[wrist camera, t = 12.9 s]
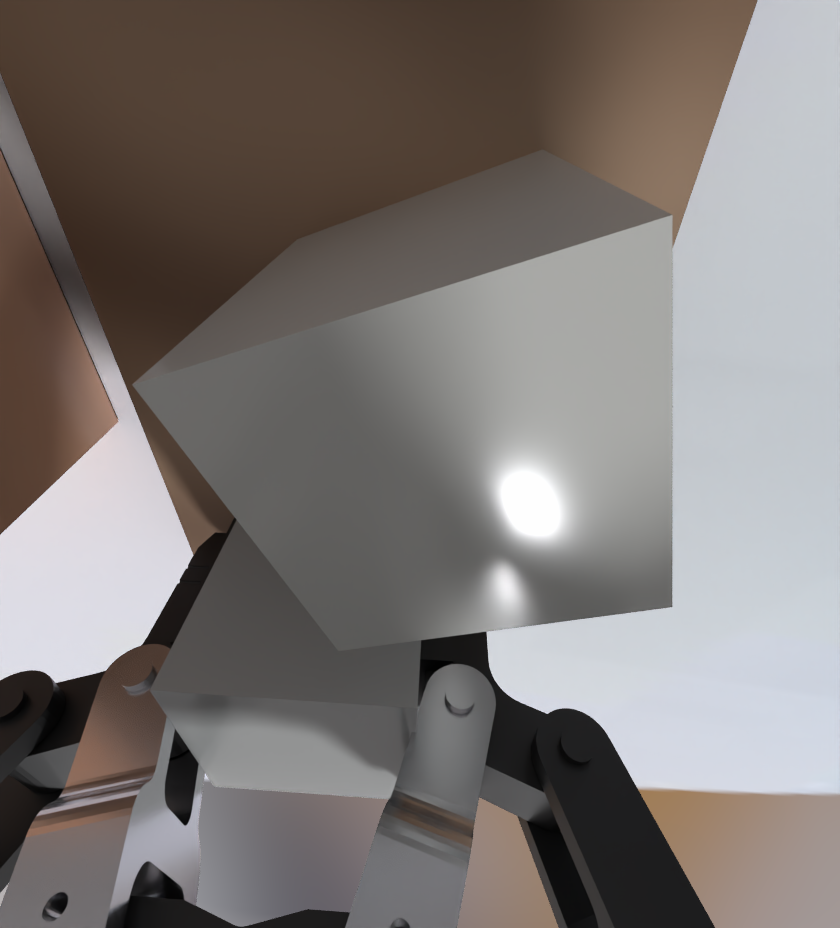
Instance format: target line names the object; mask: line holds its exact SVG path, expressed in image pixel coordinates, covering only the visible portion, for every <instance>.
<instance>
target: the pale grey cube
mask: <svg viewBox="0 0 840 928" xmlns="http://www.w3.org/2000/svg"><path fill="white" fill-rule="evenodd" d="M132 385H133V387H134V388H135V389H136V390H137V392H138V393H139V394H140V396H141V397H142V398H143V400H144V401H145V402H146V403H147V405H148V406H149V407H150V409H151V410H152V411H153V412H154V414H155V415H156V416H157V418H158V419H159V420H160V421H161V423H162V424H163V425H164V427H165V428H166V429H167V430H168V432H169V433H170V434H171V436H172V437H173V438H174V440H175V441H176V442H177V443H178V445H179V446H180V447H181V449H182V450H183V451H184V452H185V454H186V455H187V456H188V458H189V459H190V460H191V461H192V463H193V464H194V465H195V467H196V468H197V469H198V471H199V472H200V473H201V474H202V476H203V477H204V478H205V480H206V481H207V482H208V483H209V485H210V486H211V487H212V489H213V490H214V491H215V492H216V494H217V495H218V496H219V498H220V499H221V500H222V502H223V503H224V504H225V505H226V507H227V508H228V509H229V511H230V512H231V513H232V514H233V516H234V517H235V518H236V520H237V521H238V522H239V523H240V525H241V526H242V527H243V529H244V530H245V531H246V532H247V534H248V535H249V536H250V538H251V539H252V540H253V542H254V543H255V544H256V545H257V547H258V548H259V549H260V551H261V552H262V553H263V554H264V556H265V557H266V558H267V560H268V561H269V562H270V563H271V565H272V566H273V567H274V569H275V570H276V571H277V573H278V574H279V575H280V576H281V578H282V579H283V580H284V582H285V583H286V584H287V585H288V587H289V588H290V589H291V591H292V592H293V593H294V594H295V596H296V597H297V598H298V600H299V601H300V602H301V603H302V605H303V606H304V607H305V609H306V610H307V611H308V613H309V614H310V615H311V616H312V618H313V619H314V620H315V622H316V623H317V624H318V625H319V627H320V628H321V629H322V631H323V632H324V633H325V634H326V636H327V637H328V638H329V640H330V641H331V642H332V644H333V645H334V646H335V647H336V649H337V650H338V651H343V650H351V649H358V648H366V647H373V646H381V645H388V644H396V643H404V642H411V641H419V640H426V639H434V638H441V637H449V636H456V635H464V634H472V633H479V632H487V631H494V630H502V629H509V628H517V627H525V626H532V625H540V624H547V623H555V622H562V621H570V620H577V619H585V618H593V617H600V616H608V615H615V614H623V613H630V612H638V611H646V610H653V609H661V608H668V607H672V214H670V213H668V212H666V211H664V210H662V209H660V208H658V207H656V206H654V205H652V204H650V203H648V202H646V201H644V200H642V199H640V198H638V197H636V196H634V195H632V194H630V193H628V192H626V191H624V190H622V189H620V188H618V187H616V186H614V185H612V184H610V183H608V182H606V181H604V180H602V179H601V178H599V177H597V176H595V175H593V174H591V173H589V172H587V171H585V170H583V169H581V168H579V167H577V166H575V165H573V164H571V163H569V162H567V161H565V160H563V159H561V158H559V157H557V156H555V155H553V154H551V153H549V152H547V151H545V150H543V149H542V150H539V151H537V152H534V153H531V154H529V155H526V156H523V157H520V158H518V159H515V160H512V161H509V162H507V163H504V164H501V165H499V166H496V167H493V168H490V169H488V170H485V171H482V172H479V173H477V174H474V175H471V176H469V177H466V178H463V179H460V180H458V181H455V182H452V183H449V184H447V185H444V186H441V187H439V188H436V189H433V190H430V191H428V192H425V193H422V194H419V195H417V196H414V197H411V198H409V199H406V200H403V201H400V202H398V203H395V204H392V205H389V206H387V207H384V208H381V209H379V210H376V211H373V212H370V213H368V214H365V215H362V216H359V217H357V218H354V219H351V220H349V221H346V222H343V223H340V224H338V225H335V226H332V227H329V228H327V229H324V230H321V231H319V232H316V233H313V234H310V235H308V236H305V237H302V238H299V239H297V240H296V241H295V242H294V243H292V244H291V245H290V246H289V247H288V248H287V249H286V250H284V251H283V252H282V253H281V254H280V255H279V256H278V257H277V258H275V259H274V260H273V261H272V262H271V263H270V264H269V265H267V266H266V267H265V268H264V269H263V270H262V271H261V272H259V273H258V274H257V275H256V276H255V277H254V278H253V279H252V280H250V281H249V282H248V283H247V284H246V285H245V286H244V287H242V288H241V289H240V290H239V291H238V292H237V293H236V294H234V295H233V296H232V297H231V298H230V299H229V300H228V301H227V302H225V303H224V304H223V305H222V306H221V307H220V308H219V309H217V310H216V311H215V312H214V313H213V314H212V315H211V316H209V317H208V318H207V319H206V320H205V321H204V322H203V323H202V324H200V325H199V326H198V327H197V328H196V329H195V330H194V331H192V332H191V333H190V334H189V335H188V336H187V337H186V338H184V339H183V340H182V341H181V342H180V343H179V344H178V345H177V346H175V347H174V348H173V349H172V350H171V351H170V352H169V353H167V354H166V355H165V356H164V357H163V358H162V359H161V360H159V361H158V362H157V363H156V364H155V365H154V366H153V367H152V368H150V369H149V370H148V371H147V372H146V373H145V374H144V375H142V376H141V377H140V378H139V379H138V380H137V381H136V382H134V383H133V384H132Z"/></svg>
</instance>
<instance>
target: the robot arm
mask: <svg viewBox="0 0 840 928" xmlns="http://www.w3.org/2000/svg"><path fill="white" fill-rule="evenodd" d="M235 522H236V518H235V517H234V519H233V521H232V523H231V525H230V527H229V529H228V531H227V533H218V532H215V533H214V534H213V535H212V536H211V537H209V538H208V539H207V540H206V541H205V542H204V543H203V544H202V545H200V546H199V547H198V549H197V550H196V552H195V554H194V556H193V557H192V559H191V561H190V563H189V565H188V569H186V570H185V572H184V573H183V575H182V577H181V579H180V583H179V584H177V586H176V587H175V589H174V591H173V593H172V595H171V596H170V598H169V600H168V602H167V603H166V605H165V607H164V609H163V610H162V612H161V614H160V616H159V617H158V619H157V621H156V623H155V624H154V626H153V628H152V630H151V632H150V633H149V635H148V637H147V638H146V640H145V641H144V643H143V644H142V645H141V646H139V647H136V648H134V649H132V650H130V651H128V652H126V653H125V654H123V655H122V656H120V657H119V658H118V659H116V660H115V661H114V662H113V663H112V664H111V665H110V667H109V668H108V669H107V670H106V671H103V672H100V673H97V674H92V675H88V676H84V677H80V678H76V679H71V680H67V681H63V682H59V683H55V682H54V681H53V680H52V679H51V678H50V676H48V675H47V674H46V673H44V672H41V671H24V672H19V673H16V674H13V675H11V676H8V677H6V678H4V679H2V680H0V892H1V891H2V890H3V889H4V888H5V886H6V885H7V884H8V883H9V884H8V887H7V890H6V893H5V895H4V898H3V901H2V904H1V906H0V928H457V925H458V919H459V913H460V908H461V903H462V897H463V892H464V887H465V880H466V875H467V869H468V865H469V858H470V853H471V846H472V840H473V829H474V822H475V817H476V811H477V806H478V800H479V797H480V798H482V799H484V800H486V801H488V802H490V803H492V804H494V805H496V806H498V807H500V808H502V809H504V810H506V811H509V812H511V813H513V814H515V815H517V816H518V818H519V821H520V824H521V827H522V830H523V832H524V835H525V838H526V840H527V843H528V846H529V848H530V851H531V854H532V856H533V859H534V862H535V864H536V867H537V870H538V873H539V875H540V878H541V880H542V884H543V886H544V889H545V892H546V894H547V897H548V900H549V902H550V905H551V908H552V910H553V913H554V916H555V919H556V921H557V924H558V927H559V928H715V927H714V925H713V923H712V921H711V920H710V918H709V916H708V914H707V912H706V911H705V909H704V907H703V905H702V904H701V902H700V900H699V898H698V896H697V895H696V893H695V891H694V889H693V887H692V886H691V884H690V882H689V880H688V878H687V877H686V875H685V873H684V871H683V869H682V868H681V866H680V864H679V862H678V860H677V859H676V857H675V855H674V853H673V852H672V850H671V848H670V846H669V844H668V843H667V841H666V839H665V837H664V835H663V834H662V832H661V830H660V828H659V827H658V825H657V823H656V821H655V819H654V818H653V816H652V814H651V812H650V811H649V809H648V807H647V805H646V803H645V801H644V800H643V798H642V796H641V794H640V792H639V791H638V789H637V787H636V785H635V784H634V782H633V780H632V778H631V776H630V775H629V773H628V771H627V769H626V767H625V766H624V764H623V762H622V760H621V758H620V757H619V755H618V753H617V751H616V750H615V748H614V746H613V744H612V742H611V741H610V739H609V737H608V735H607V734H606V732H605V731H604V730H603V728H602V727H601V726H600V725H599V724H598V723H597V722H596V721H595V720H594V719H592V718H591V717H590V716H588V715H586V714H584V713H582V712H580V711H577V710H574V709H557V710H554V711H552V712H550V713H549V714H546V713H544V712H541V711H539V710H536V709H534V708H532V707H529V706H527V705H525V704H522V703H520V702H518V701H516V700H514V699H513V698H511V697H510V696H508V695H507V694H506V693H505V692H504V691H502V689H501V688H500V687H499V686H498V685H497V683H496V682H495V680H494V678H493V676H492V674H491V671H490V668H489V662H488V649H487V635H486V632H479V633H472V634H464V635H456V636H449V637H441V638H434V639H426V640H421V652H420V671H419V689H418V708H417V724H416V732H411V736H410V739H409V742H408V745H407V748H406V752H405V755H404V758H403V761H402V764H401V768H400V771H399V774H398V777H397V780H396V783H395V786H394V789H393V792H392V795H391V797H390V799H389V800H388V802H387V804H386V806H385V808H384V810H383V813H382V815H381V818H380V821H379V824H378V827H377V830H376V833H375V836H374V839H373V842H372V846H371V849H370V852H369V855H368V858H367V861H366V865H365V867H364V871H363V874H362V877H361V880H360V883H359V886H358V889H357V892H356V896H355V899H354V902H353V905H352V908H351V911H350V913H348V912H335V911H321V910H309V909H308V910H304V911H300V912H297V913H293V914H289V915H286V916H282V917H278V918H275V919H271V920H268V921H264V922H260V923H257V924H253V925H249V926H244V927H238V926H235V925H233V924H231V923H229V922H227V921H225V920H223V919H221V918H219V917H217V916H215V915H213V914H211V913H209V912H207V911H205V910H203V909H201V908H199V907H197V906H196V902H197V894H198V886H199V877H200V864H201V852H200V842H199V837H198V821H199V812H200V804H201V798H202V790H203V783H204V775H205V771H204V770H203V768H202V767H201V765H200V764H199V763H198V762H197V760H196V759H195V757H194V756H193V754H192V753H191V751H190V750H189V748H188V747H187V745H186V744H185V742H184V741H183V739H182V738H181V736H180V735H179V733H178V732H177V730H176V729H175V726H174V725H173V723H172V722H171V720H170V719H169V717H168V716H167V715H166V714H165V713H164V711H163V710H162V708H161V707H160V705H159V704H158V702H157V701H156V699H155V698H154V696H153V695H152V693H151V692H150V688H151V687H152V685H153V683H154V681H155V679H156V677H157V675H158V673H159V671H160V669H161V667H162V665H163V663H164V661H165V659H166V657H167V655H168V653H169V651H170V649H171V647H172V645H173V643H174V642H175V640H176V638H177V636H178V634H179V632H180V630H181V628H182V626H183V624H184V622H185V620H186V618H187V616H188V614H189V612H190V610H191V608H192V606H193V604H194V602H195V600H196V598H197V596H198V595H199V593H200V591H201V589H202V587H203V585H204V583H205V581H206V579H207V577H208V575H209V573H210V571H211V569H212V567H213V565H214V563H215V561H216V559H217V557H218V555H219V553H220V551H221V550H222V548H223V546H224V544H225V542H226V540H227V538H228V536H229V534H230V532H231V530H232V528H233V526H234V524H235Z"/></svg>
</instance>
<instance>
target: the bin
mask: <svg viewBox="0 0 840 928" xmlns="http://www.w3.org/2000/svg"><path fill="white" fill-rule="evenodd" d="M117 422H118V420H117V417H116V415H115V413H114V410H113V408H112V406H111V404H110V401H109V399H108V397H107V394H106V392H105V390H104V387H103V385H102V383H101V381H100V378H99V376H98V374H97V371H96V369H95V367H94V364H93V362H92V360H91V358H90V355H89V353H88V351H87V348H86V346H85V344H84V342H83V339H82V337H81V335H80V332H79V330H78V328H77V325H76V323H75V321H74V319H73V316H72V314H71V312H70V309H69V307H68V305H67V302H66V300H65V298H64V296H63V293H62V291H61V289H60V286H59V284H58V282H57V279H56V277H55V275H54V273H53V270H52V268H51V266H50V263H49V261H48V259H47V256H46V254H45V252H44V250H43V247H42V245H41V243H40V240H39V238H38V236H37V233H36V231H35V229H34V227H33V224H32V222H31V220H30V217H29V215H28V213H27V211H26V208H25V206H24V204H23V201H22V199H21V197H20V194H19V192H18V190H17V188H16V185H15V183H14V181H13V178H12V176H11V174H10V171H9V169H8V167H7V165H6V162H5V160H4V158H3V155H2V153H1V151H0V534H1V533H2V532H3V531H4V530H5V529H6V528H7V527H9V526H10V525H11V524H12V523H13V522H14V521H15V520H16V519H17V518H18V517H19V516H20V515H21V514H22V513H23V512H24V511H25V510H26V509H27V508H28V507H29V506H31V505H32V504H33V503H34V502H35V501H36V500H37V499H38V498H39V497H40V496H41V495H42V494H43V493H44V492H45V491H46V490H47V489H48V488H49V487H50V486H51V485H53V484H54V483H55V482H56V481H57V480H58V479H59V478H60V477H61V476H62V475H63V474H64V473H65V472H66V471H67V470H68V469H69V468H70V467H71V466H72V465H73V464H75V463H76V462H77V461H78V460H79V459H80V458H81V457H82V456H83V455H84V454H85V453H86V452H87V451H88V450H89V449H90V448H91V447H92V446H93V445H94V444H95V443H97V442H98V441H99V440H100V439H101V438H102V437H103V436H104V435H105V434H106V433H107V432H108V431H109V430H110V429H111V428H112V427H113V426H114V425H115V424H116V423H117Z"/></svg>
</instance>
